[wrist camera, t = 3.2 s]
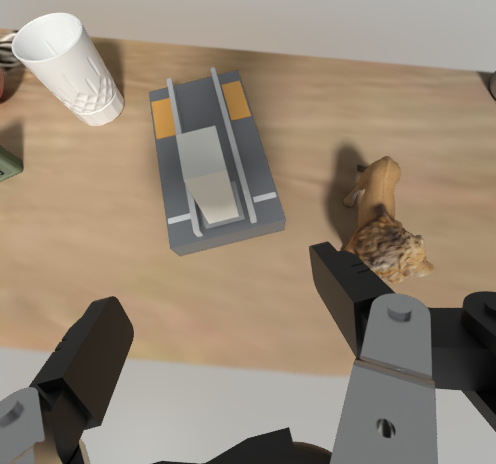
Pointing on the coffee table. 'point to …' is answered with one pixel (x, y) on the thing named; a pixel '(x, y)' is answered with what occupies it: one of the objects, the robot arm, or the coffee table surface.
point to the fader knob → (209, 177)
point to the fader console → (235, 155)
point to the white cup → (69, 66)
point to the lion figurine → (384, 227)
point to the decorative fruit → (1, 82)
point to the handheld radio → (9, 164)
